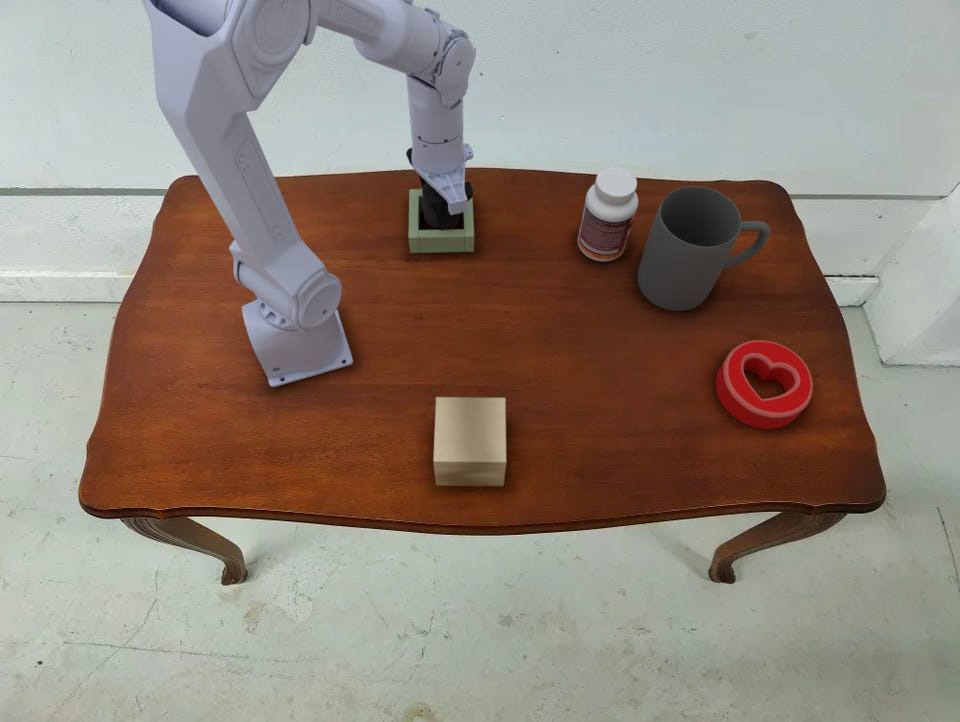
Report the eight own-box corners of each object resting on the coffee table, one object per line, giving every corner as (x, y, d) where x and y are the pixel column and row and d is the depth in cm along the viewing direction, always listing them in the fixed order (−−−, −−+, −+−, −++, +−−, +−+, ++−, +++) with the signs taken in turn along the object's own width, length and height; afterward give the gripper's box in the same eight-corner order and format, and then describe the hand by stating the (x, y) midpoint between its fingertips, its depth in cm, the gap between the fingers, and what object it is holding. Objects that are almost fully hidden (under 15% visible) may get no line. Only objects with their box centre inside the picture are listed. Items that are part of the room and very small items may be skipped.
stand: (435, 485, 73) (433, 461, 67) (438, 424, 77) (436, 396, 71) (503, 486, 73) (506, 462, 68) (502, 425, 77) (505, 397, 71)
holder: (410, 253, 89) (408, 237, 86) (411, 205, 93) (409, 189, 90) (474, 252, 89) (474, 236, 86) (471, 204, 93) (472, 188, 90)
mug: (643, 315, 84) (668, 250, 74) (629, 255, 89) (650, 186, 79) (754, 309, 85) (794, 244, 75) (735, 249, 90) (770, 181, 79)
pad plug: (430, 233, 87) (428, 207, 83) (419, 207, 89) (417, 181, 86) (464, 224, 88) (464, 198, 84) (453, 198, 90) (452, 172, 86)
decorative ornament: (721, 426, 77) (731, 414, 74) (710, 351, 82) (719, 336, 79) (810, 430, 77) (822, 418, 74) (794, 354, 82) (805, 340, 79)
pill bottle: (630, 261, 88) (650, 199, 79) (582, 266, 88) (596, 204, 78) (619, 223, 92) (636, 159, 82) (572, 228, 91) (584, 164, 82)
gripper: (494, 162, 74) (491, 246, 85) (450, 76, 81) (453, 165, 92) (430, 178, 72) (435, 261, 84) (391, 89, 79) (401, 177, 91)
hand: (441, 212), depth 88 cm, fingers closed on pad plug, 4 cm apart
